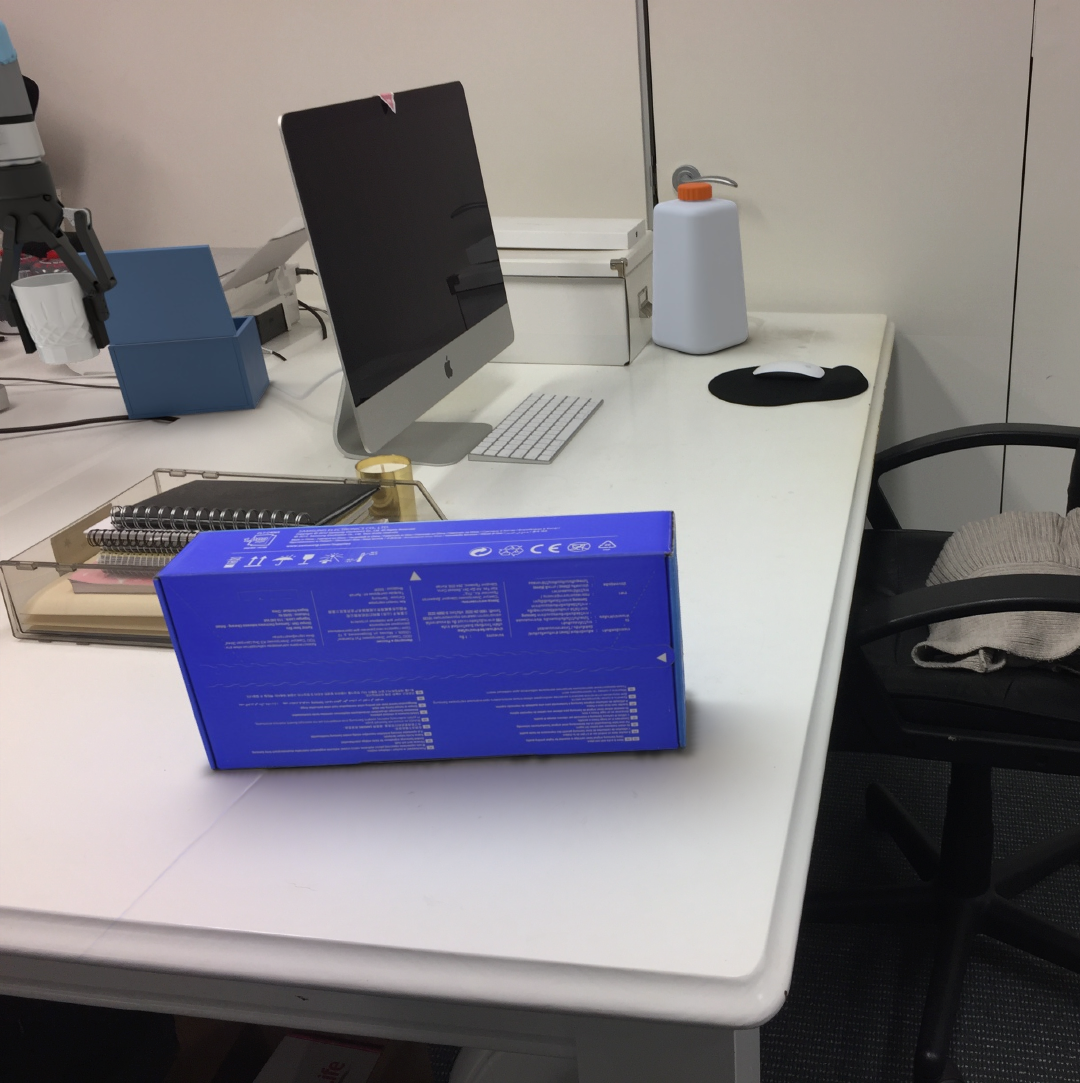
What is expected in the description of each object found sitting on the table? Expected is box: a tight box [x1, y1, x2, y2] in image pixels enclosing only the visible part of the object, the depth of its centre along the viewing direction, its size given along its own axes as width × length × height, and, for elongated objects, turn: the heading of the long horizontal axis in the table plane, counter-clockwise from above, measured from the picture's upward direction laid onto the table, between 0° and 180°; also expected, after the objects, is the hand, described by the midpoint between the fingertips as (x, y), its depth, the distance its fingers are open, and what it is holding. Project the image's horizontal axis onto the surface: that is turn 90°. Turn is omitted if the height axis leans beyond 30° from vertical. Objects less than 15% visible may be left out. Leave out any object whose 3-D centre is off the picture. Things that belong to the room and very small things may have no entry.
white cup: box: [11, 272, 101, 366], centre depth 132 cm, size 8×8×10 cm
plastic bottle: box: [651, 182, 749, 355], centre depth 186 cm, size 15×15×28 cm
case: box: [107, 315, 271, 420], centre depth 167 cm, size 14×19×12 cm
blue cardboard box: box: [152, 509, 687, 771], centre depth 84 cm, size 39×8×18 cm, turn 92°
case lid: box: [77, 244, 237, 346], centre depth 153 cm, size 14×19×1 cm
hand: (68, 348), depth 134 cm, fingers closed on white cup, 8 cm apart
